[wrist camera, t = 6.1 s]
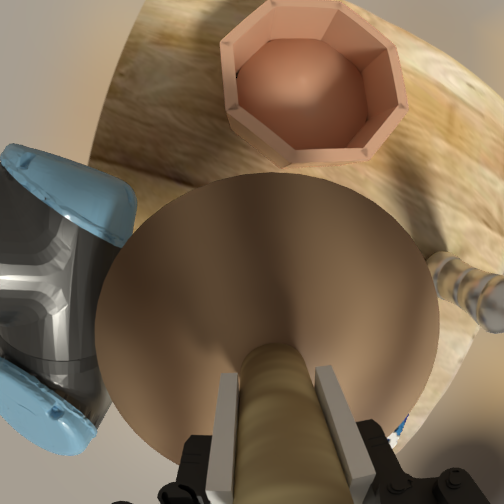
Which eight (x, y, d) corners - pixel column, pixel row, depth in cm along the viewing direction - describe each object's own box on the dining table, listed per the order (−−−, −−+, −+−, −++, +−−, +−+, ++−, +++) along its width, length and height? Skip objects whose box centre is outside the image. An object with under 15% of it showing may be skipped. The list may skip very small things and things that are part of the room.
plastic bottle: (429, 300, 39) (516, 365, 19) (408, 270, 38) (505, 330, 18) (456, 270, 38) (549, 319, 19) (437, 238, 37) (541, 277, 17)
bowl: (234, 172, 35) (230, 168, 26) (222, 38, 31) (216, 2, 22) (379, 164, 35) (415, 161, 26) (359, 38, 31) (384, 8, 22)
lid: (157, 479, 18) (124, 583, 7) (70, 214, 16) (-83, 223, 5) (416, 440, 18) (476, 532, 7) (420, 159, 15) (568, 121, 4)
